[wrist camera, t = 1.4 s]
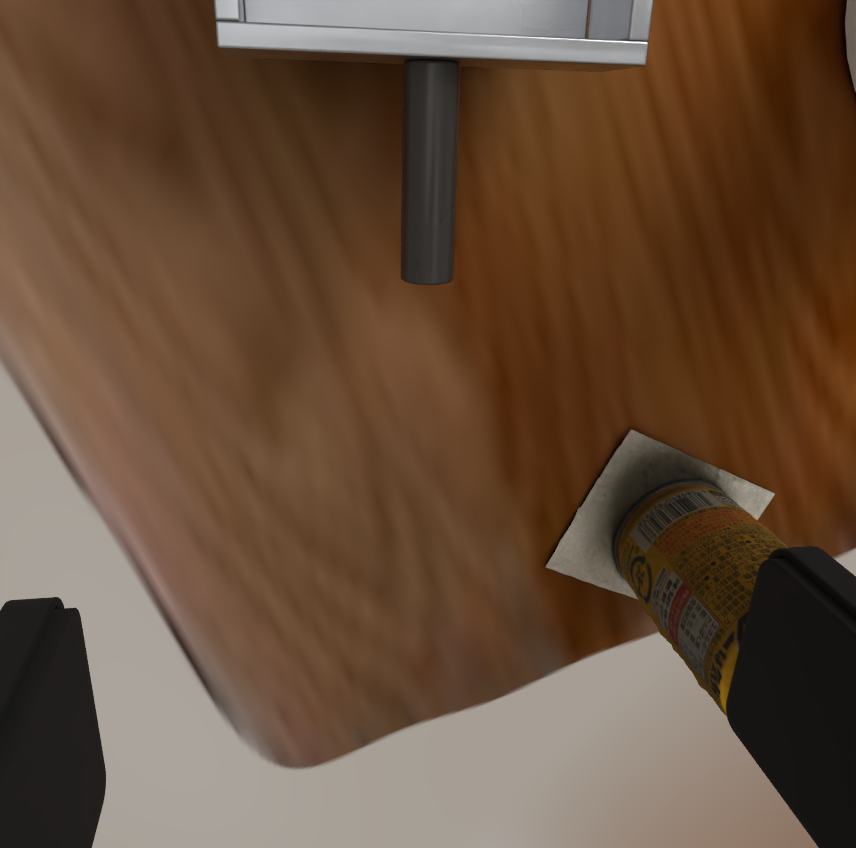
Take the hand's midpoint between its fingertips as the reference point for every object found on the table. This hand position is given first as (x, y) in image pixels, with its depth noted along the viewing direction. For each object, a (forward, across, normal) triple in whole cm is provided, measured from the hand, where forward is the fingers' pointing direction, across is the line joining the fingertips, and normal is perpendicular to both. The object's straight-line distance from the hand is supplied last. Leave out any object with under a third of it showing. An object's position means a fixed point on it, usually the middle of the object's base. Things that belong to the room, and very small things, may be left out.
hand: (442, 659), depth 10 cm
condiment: (+19, -14, +10) cm, 26 cm away
